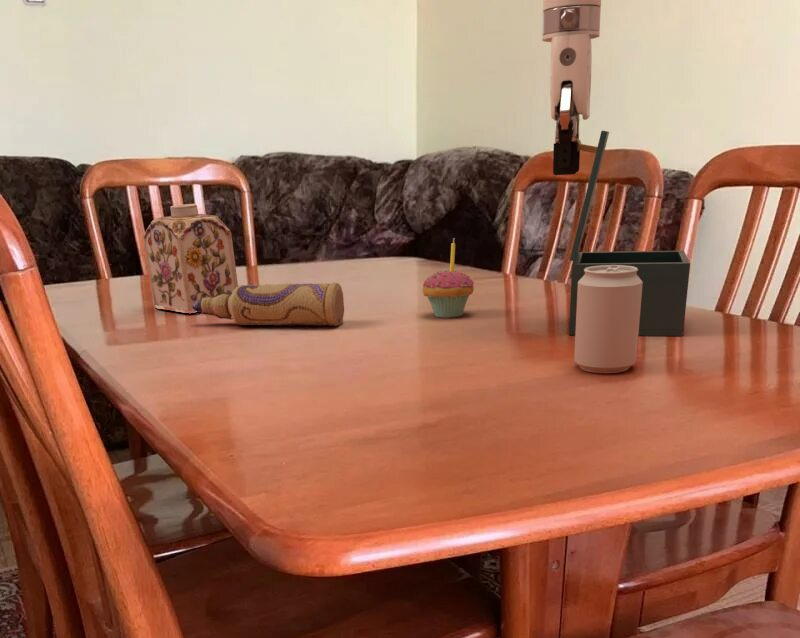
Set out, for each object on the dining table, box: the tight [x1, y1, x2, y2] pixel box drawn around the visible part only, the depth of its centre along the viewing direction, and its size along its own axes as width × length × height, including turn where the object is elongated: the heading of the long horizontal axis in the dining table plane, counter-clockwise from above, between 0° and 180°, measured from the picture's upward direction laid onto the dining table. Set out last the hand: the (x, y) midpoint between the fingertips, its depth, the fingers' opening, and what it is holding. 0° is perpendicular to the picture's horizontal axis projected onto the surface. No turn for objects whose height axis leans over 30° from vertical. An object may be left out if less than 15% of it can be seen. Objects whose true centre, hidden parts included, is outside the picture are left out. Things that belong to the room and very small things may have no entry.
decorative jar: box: [142, 203, 239, 311], centre depth 151 cm, size 12×12×18 cm
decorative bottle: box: [192, 282, 345, 327], centre depth 135 cm, size 26×8×7 cm, turn 76°
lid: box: [569, 130, 610, 262], centre depth 118 cm, size 17×14×5 cm
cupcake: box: [422, 237, 475, 319], centre depth 135 cm, size 9×8×12 cm
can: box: [573, 265, 643, 374], centre depth 100 cm, size 8×8×12 cm
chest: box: [568, 250, 691, 337], centre depth 122 cm, size 16×14×10 cm
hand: (566, 172), depth 117 cm, fingers closed on lid, 6 cm apart
